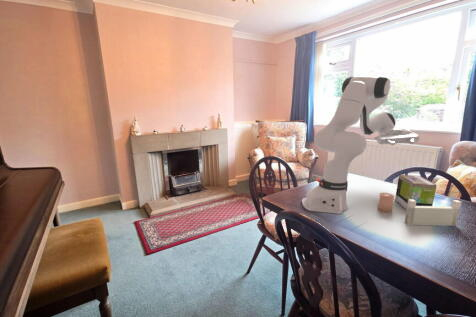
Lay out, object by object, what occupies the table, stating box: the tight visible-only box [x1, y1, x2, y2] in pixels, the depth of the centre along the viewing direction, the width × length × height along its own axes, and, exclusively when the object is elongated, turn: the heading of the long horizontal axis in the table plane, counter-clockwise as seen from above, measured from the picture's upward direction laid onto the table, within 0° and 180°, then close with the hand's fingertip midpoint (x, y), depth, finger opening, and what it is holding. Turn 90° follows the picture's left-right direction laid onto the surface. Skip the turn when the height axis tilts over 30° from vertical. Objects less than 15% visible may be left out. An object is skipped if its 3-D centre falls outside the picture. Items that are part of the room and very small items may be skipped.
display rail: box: [404, 199, 462, 227], centre depth 98 cm, size 20×2×11 cm, turn 86°
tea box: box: [394, 174, 437, 210], centre depth 115 cm, size 15×10×15 cm
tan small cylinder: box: [377, 192, 395, 214], centre depth 112 cm, size 6×6×8 cm
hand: (403, 143), depth 125 cm, fingers open, 8 cm apart
